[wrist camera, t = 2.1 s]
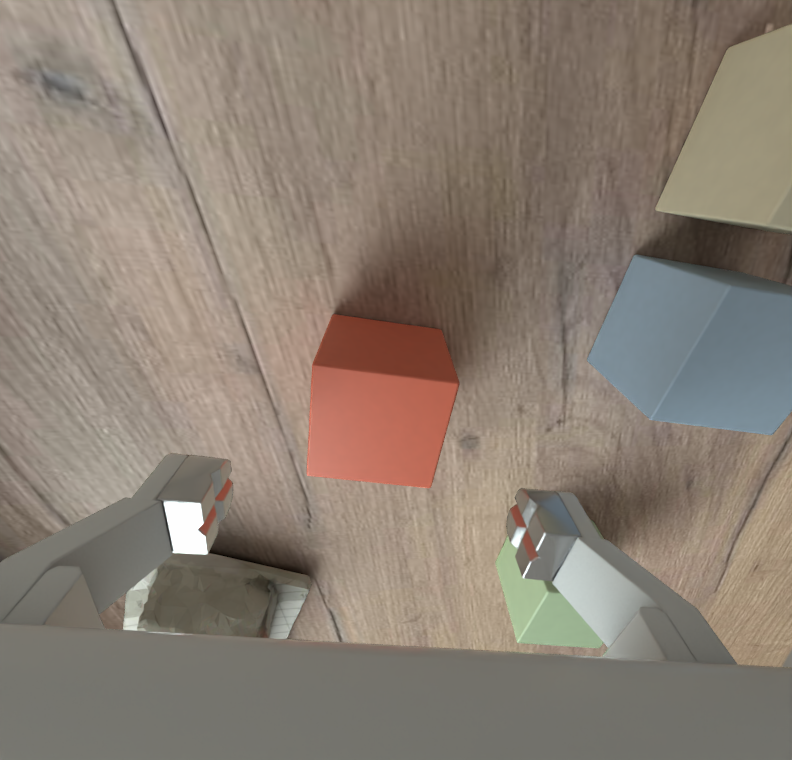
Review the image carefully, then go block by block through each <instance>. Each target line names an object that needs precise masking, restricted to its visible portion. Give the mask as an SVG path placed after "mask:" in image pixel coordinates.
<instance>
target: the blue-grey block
mask: <svg viewBox="0 0 792 760" xmlns="http://www.w3.org/2000/svg"><path fill="white" fill-rule="evenodd" d="M587 361H588V362H589V363H590V364H591V365H592V366H593V367H594V368H595V369H597V370H598V371H599V372H600V373H601V374H602V375H603V376H604V377H605V378H606V379H607V380H608V381H609V382H610V383H611V384H613V385H614V386H615V387H616V388H617V389H618V390H619V391H620V392H621V393H622V394H623V395H624V396H625V397H626V398H628V399H629V400H630V401H631V402H632V403H633V404H634V405H635V406H636V407H637V408H638V409H639V410H640V411H641V412H642V413H644V414H645V415H646V416H647V417H648V418H649V419H650V420H655V421H663V422H671V423H679V424H687V425H695V426H702V427H710V428H718V429H726V430H734V431H742V432H750V433H758V434H766V435H772V434H774V432H775V431H776V430H777V429H778V427H779V426H780V425H781V424H782V422H783V421H784V420H785V419H786V418H787V416H788V415H789V414H790V413H791V411H792V286H790V285H786V284H782V283H779V282H775V281H771V280H768V279H764V278H761V277H757V276H753V275H750V274H746V273H742V272H737V271H731V270H725V269H719V268H713V267H708V266H702V265H696V264H690V263H684V262H678V261H672V260H666V259H660V258H654V257H648V256H643V255H634V256H633V259H632V261H631V263H630V265H629V267H628V270H627V272H626V274H625V276H624V278H623V281H622V283H621V285H620V287H619V290H618V292H617V294H616V296H615V298H614V301H613V303H612V305H611V307H610V309H609V312H608V314H607V316H606V318H605V321H604V323H603V325H602V327H601V329H600V332H599V334H598V336H597V338H596V340H595V343H594V345H593V347H592V349H591V352H590V354H589V356H588V358H587Z"/></svg>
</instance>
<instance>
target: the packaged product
mask: <svg viewBox="0 0 792 760" xmlns="http://www.w3.org/2000/svg"><path fill="white" fill-rule="evenodd" d="M311 585H312V584H311V581H310V577H309V576H308V575H303V574H299V573H295V572H290V571H286V570H282V569H277V568H273V567H269V566H264V565H260V564H256V563H251V562H247V561H242V560H238V559H234V558H229V557H225V556H221V555H216V554H211V553H208V555H207V554H186V553H172V556H170V557H169V558H168V559H167V560H165V561H164V562H163V563H162V564H161V565H159V566H158V567H157V568H156V569H154V570H153V571H152V572H151V573H150V574H148V575H147V576H146V577H145V578H143V579H142V580H141V581H140V582H138V583H137V584H136V585H135V586H134V587H132V588H131V589H130V590H129V591H127V592H126V602H125V615H124V627H123V630H136V631H153V632H171V633H188V634H206V635H224V636H241V637H259V638H276V639H287V637H288V635H289V633H290V630H291V628H292V625H293V623H294V621H295V619H296V617H297V615H298V613H299V611H300V609H301V607H302V604H303V603H304V601H305V599H306V597H307V594H308V592H309V589H310V587H311Z"/></svg>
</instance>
